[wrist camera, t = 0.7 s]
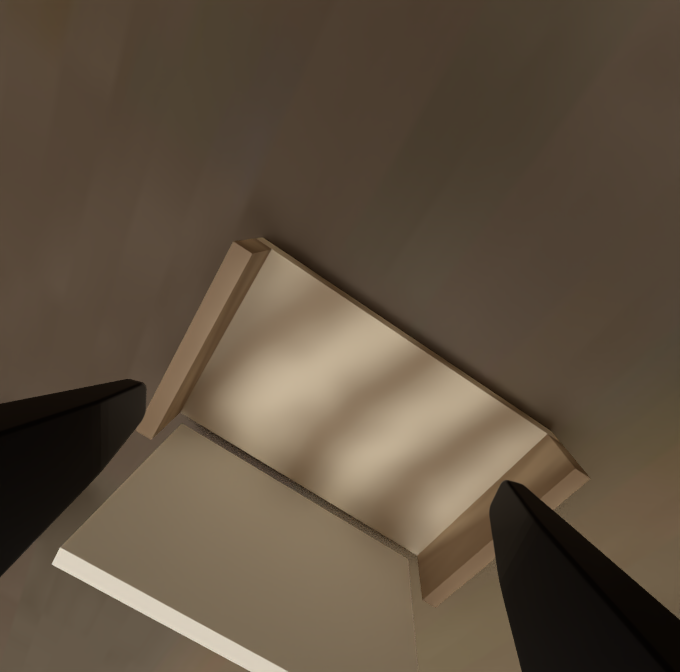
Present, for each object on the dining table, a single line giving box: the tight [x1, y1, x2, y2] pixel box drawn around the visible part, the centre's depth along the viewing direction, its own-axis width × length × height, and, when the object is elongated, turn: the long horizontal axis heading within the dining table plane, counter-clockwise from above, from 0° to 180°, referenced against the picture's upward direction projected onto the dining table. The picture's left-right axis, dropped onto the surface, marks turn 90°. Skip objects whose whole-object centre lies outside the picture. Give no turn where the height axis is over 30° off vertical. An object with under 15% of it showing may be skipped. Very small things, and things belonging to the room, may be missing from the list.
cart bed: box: [136, 238, 591, 608], centre depth 20 cm, size 21×12×4 cm, turn 57°
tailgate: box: [52, 424, 418, 672], centre depth 19 cm, size 18×2×9 cm, turn 57°
